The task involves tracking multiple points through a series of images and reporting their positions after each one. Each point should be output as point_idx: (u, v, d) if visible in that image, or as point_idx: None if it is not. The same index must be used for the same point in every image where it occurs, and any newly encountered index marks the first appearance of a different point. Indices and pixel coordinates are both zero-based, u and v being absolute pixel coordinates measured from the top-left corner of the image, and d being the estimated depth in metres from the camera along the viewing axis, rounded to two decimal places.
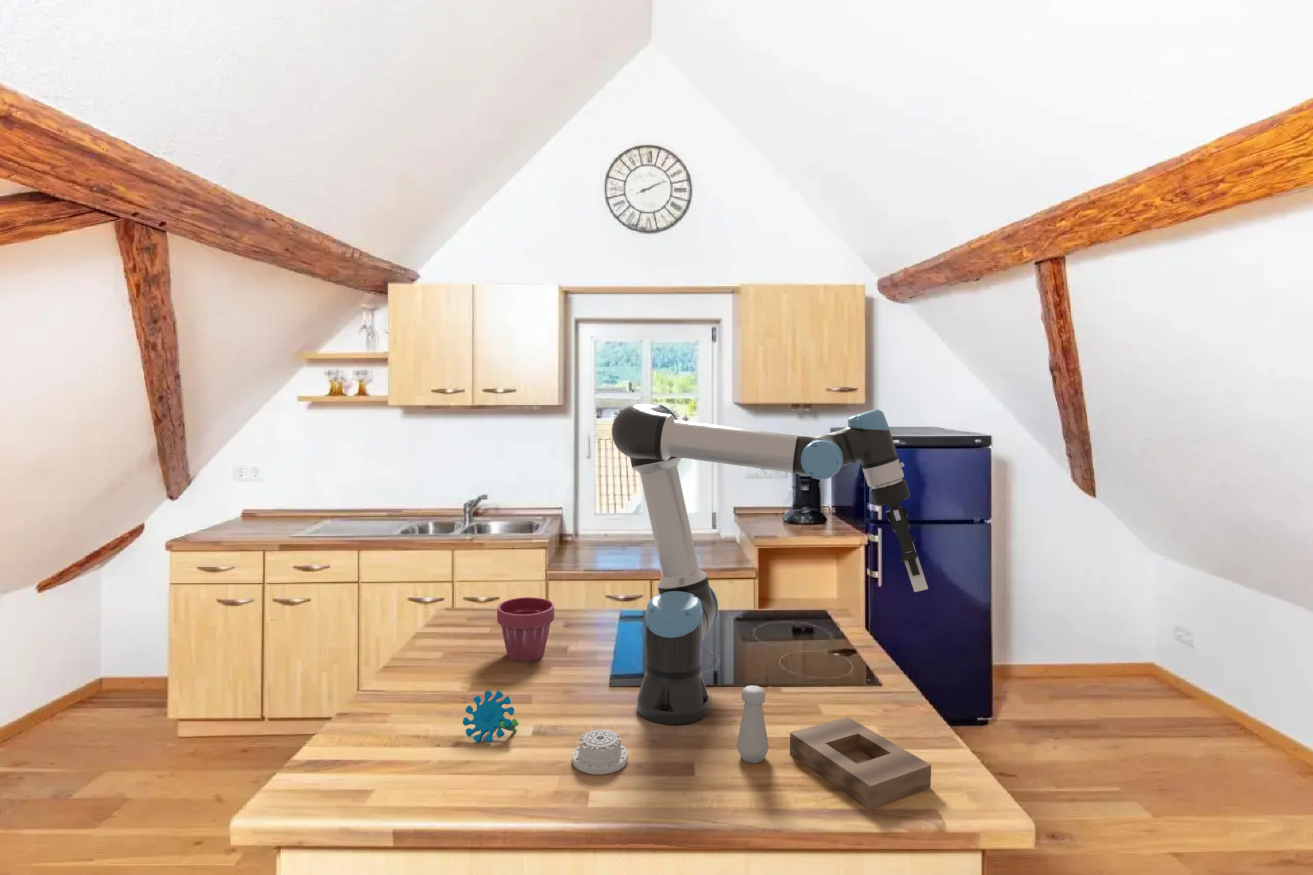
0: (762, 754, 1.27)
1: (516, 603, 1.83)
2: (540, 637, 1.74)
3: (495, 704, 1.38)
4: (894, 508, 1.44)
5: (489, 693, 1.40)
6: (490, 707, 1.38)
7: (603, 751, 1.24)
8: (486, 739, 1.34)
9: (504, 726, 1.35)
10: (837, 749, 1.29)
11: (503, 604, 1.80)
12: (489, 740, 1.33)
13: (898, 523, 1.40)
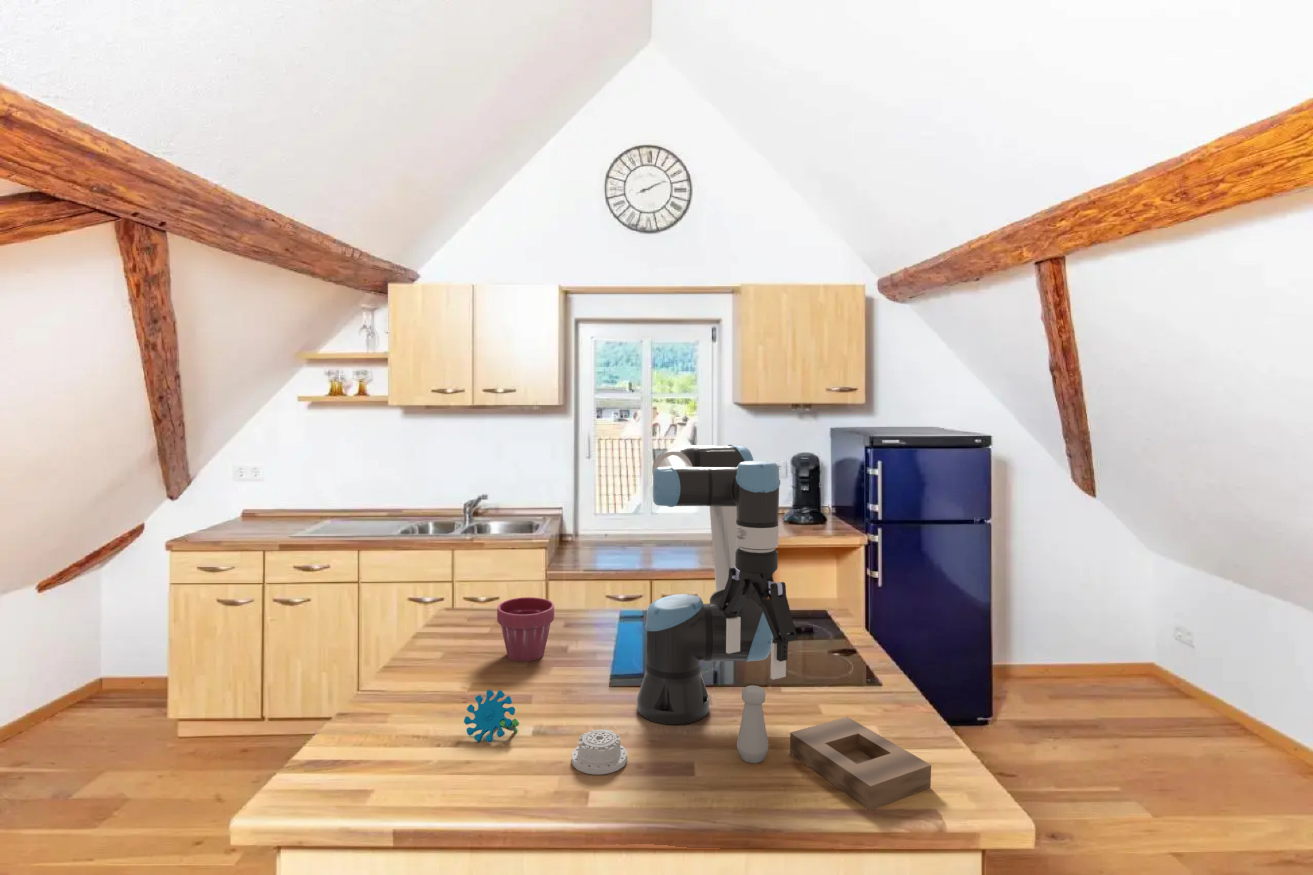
0: (762, 754, 1.27)
1: (516, 603, 1.83)
2: (540, 637, 1.74)
3: (496, 703, 1.38)
4: None
5: (491, 692, 1.40)
6: (491, 707, 1.38)
7: (602, 751, 1.24)
8: (486, 738, 1.34)
9: (505, 726, 1.35)
10: (837, 749, 1.29)
11: (503, 604, 1.80)
12: (489, 739, 1.34)
13: None
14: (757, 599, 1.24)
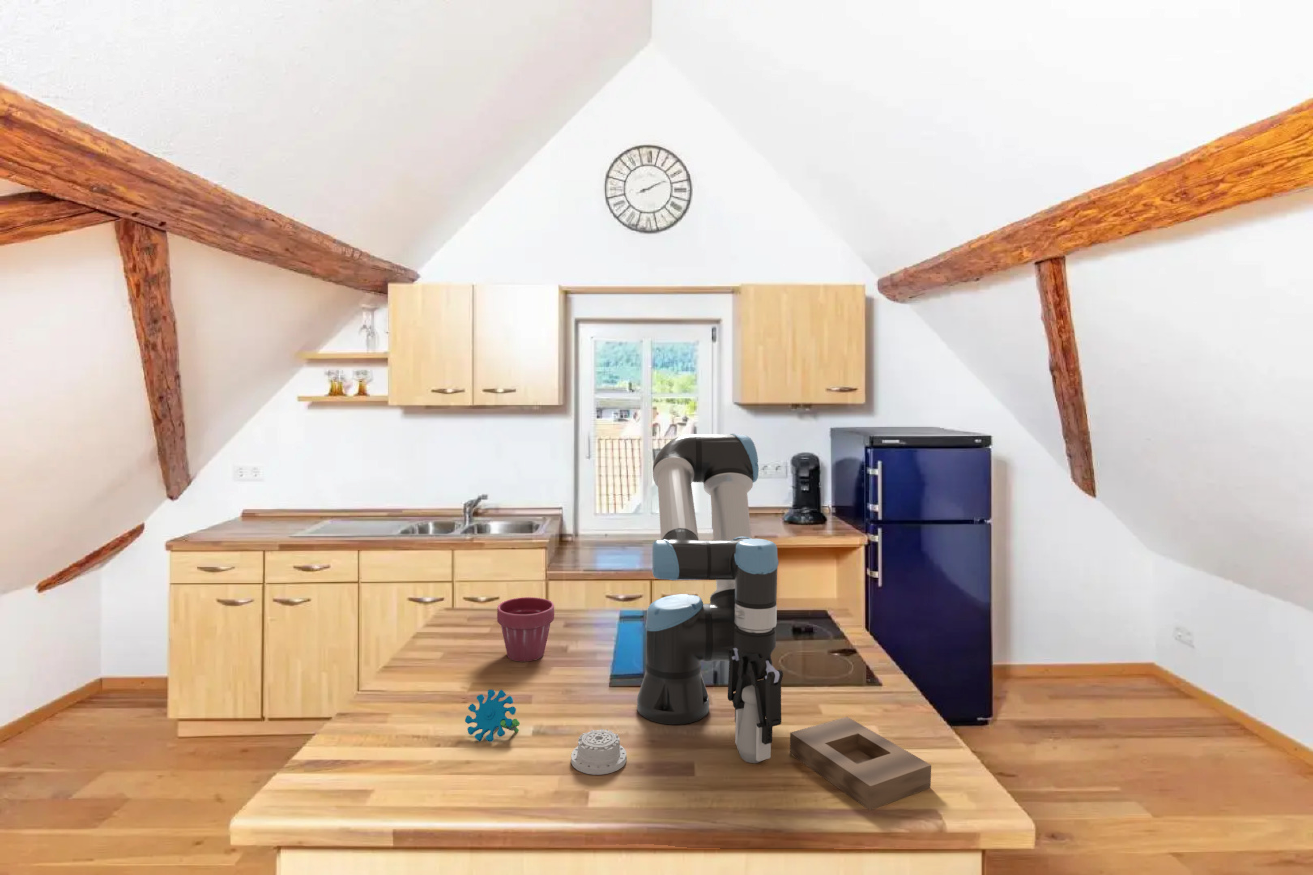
0: None
1: (516, 603, 1.83)
2: (540, 637, 1.74)
3: (497, 703, 1.38)
4: None
5: (492, 692, 1.40)
6: (492, 706, 1.38)
7: (602, 751, 1.24)
8: (487, 738, 1.34)
9: (505, 725, 1.36)
10: (837, 749, 1.29)
11: (503, 604, 1.80)
12: (490, 739, 1.34)
13: None
14: (752, 679, 1.26)
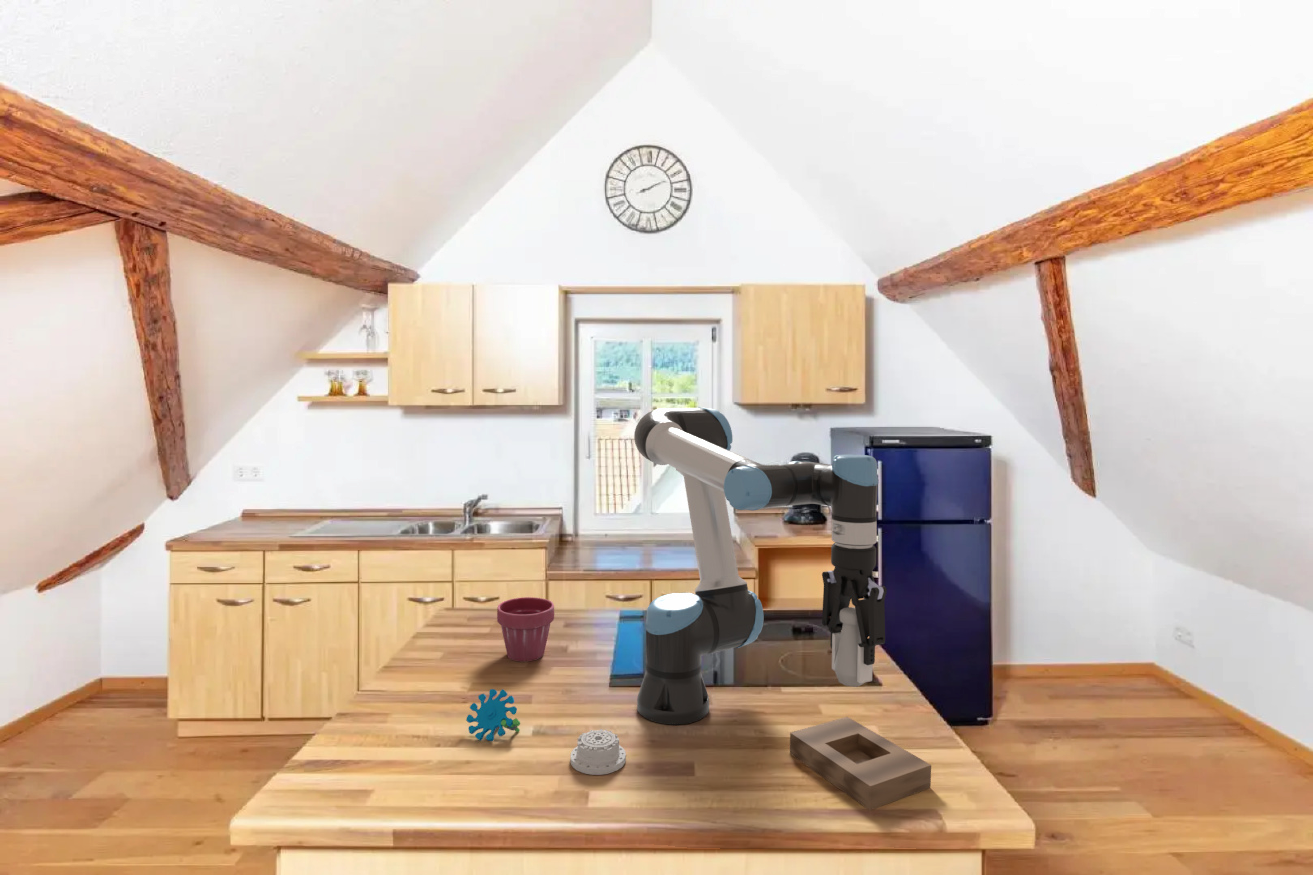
0: None
1: (516, 603, 1.83)
2: (540, 637, 1.74)
3: (498, 703, 1.38)
4: None
5: (494, 691, 1.40)
6: (494, 706, 1.38)
7: (601, 751, 1.24)
8: (487, 737, 1.34)
9: (506, 725, 1.36)
10: (837, 749, 1.29)
11: (503, 604, 1.80)
12: (490, 738, 1.34)
13: None
14: (852, 598, 1.21)
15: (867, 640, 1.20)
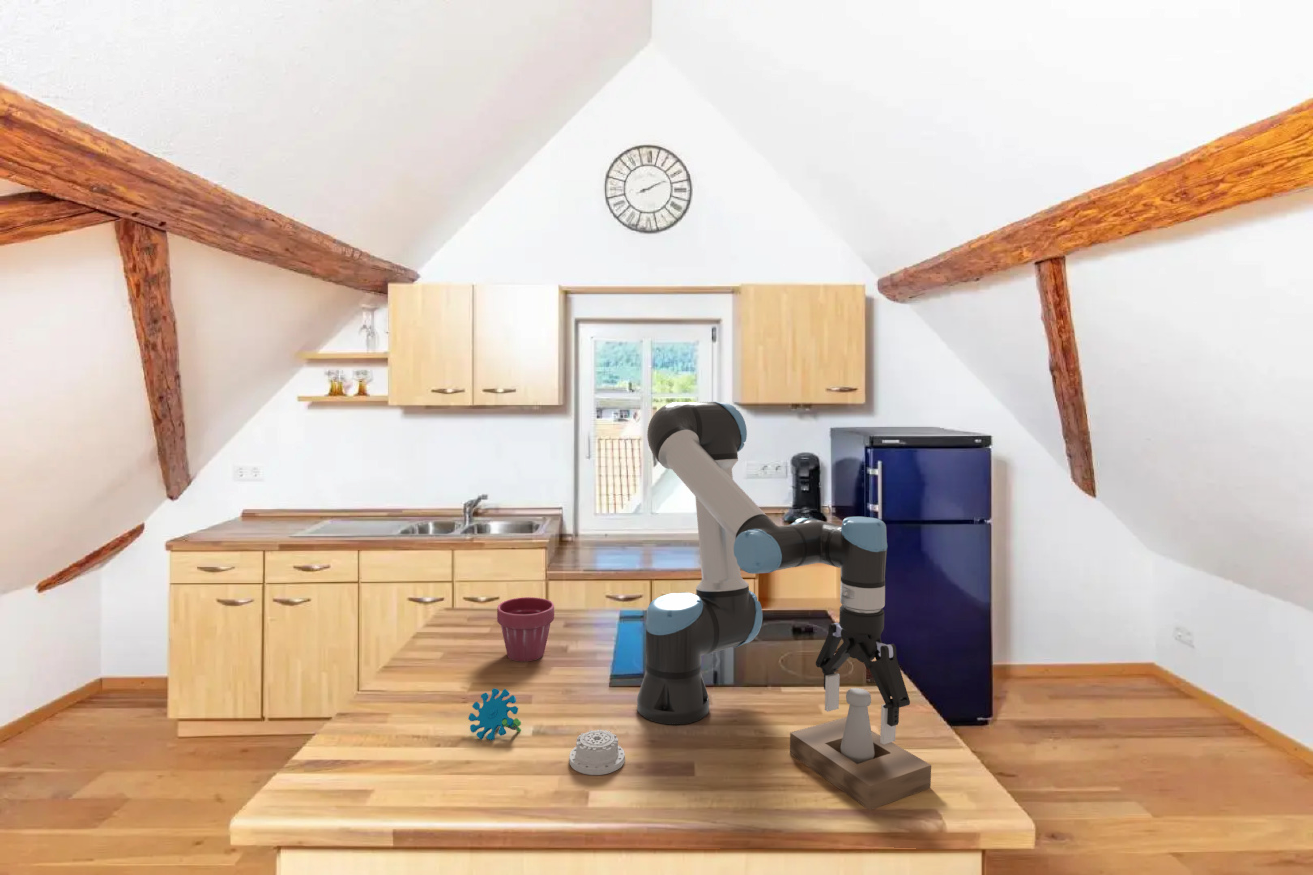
0: (869, 759, 1.23)
1: (516, 603, 1.83)
2: (540, 637, 1.74)
3: (500, 702, 1.39)
4: None
5: (496, 691, 1.41)
6: (495, 705, 1.39)
7: (600, 752, 1.24)
8: (488, 736, 1.35)
9: (507, 725, 1.36)
10: (837, 749, 1.29)
11: (503, 604, 1.80)
12: (491, 738, 1.34)
13: None
14: (865, 660, 1.21)
15: (891, 701, 1.17)
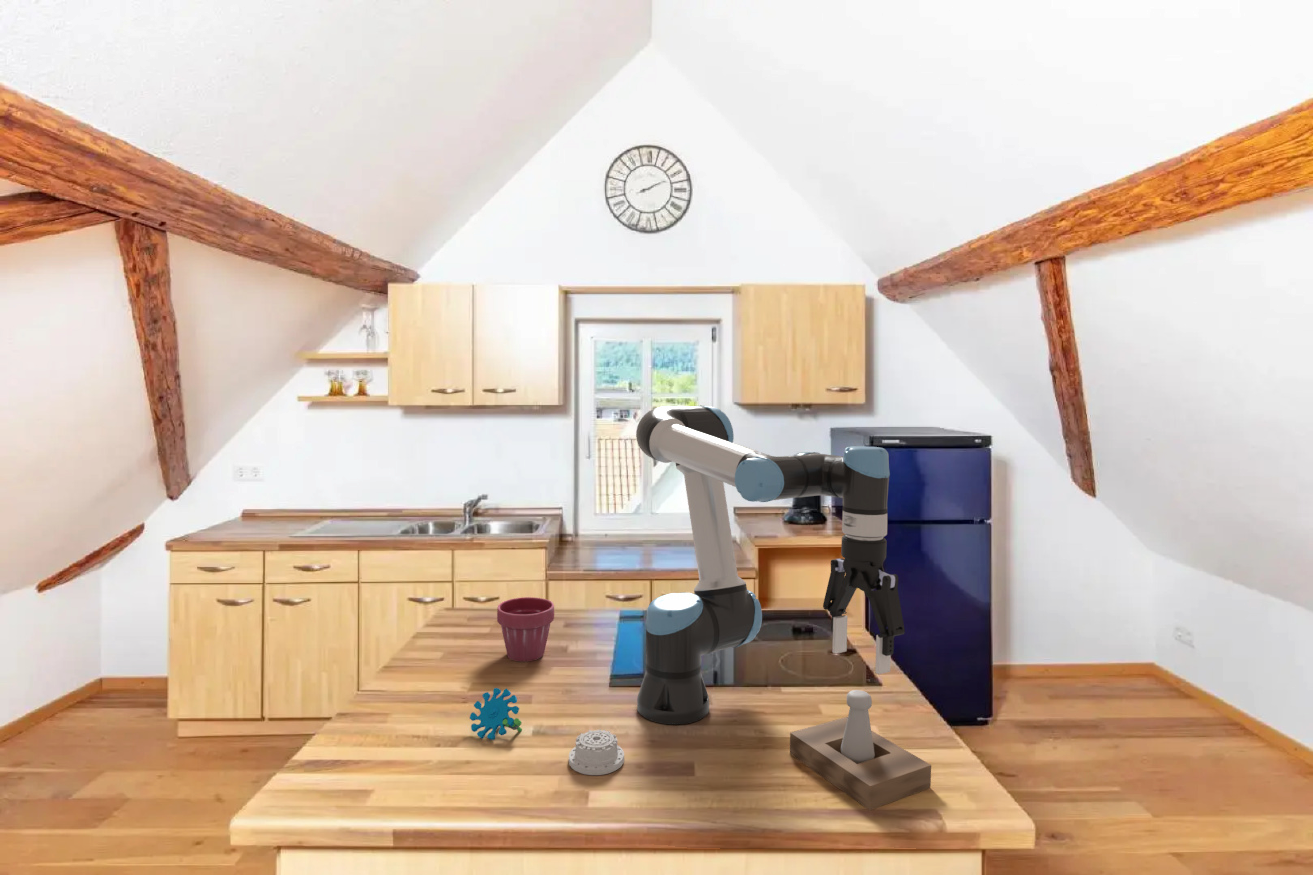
0: None
1: (516, 603, 1.83)
2: (540, 637, 1.74)
3: (501, 702, 1.39)
4: None
5: (497, 690, 1.41)
6: (497, 704, 1.39)
7: (600, 752, 1.24)
8: (488, 736, 1.35)
9: (507, 724, 1.36)
10: (837, 749, 1.29)
11: (503, 604, 1.80)
12: (491, 737, 1.34)
13: None
14: (865, 589, 1.21)
15: (886, 630, 1.18)
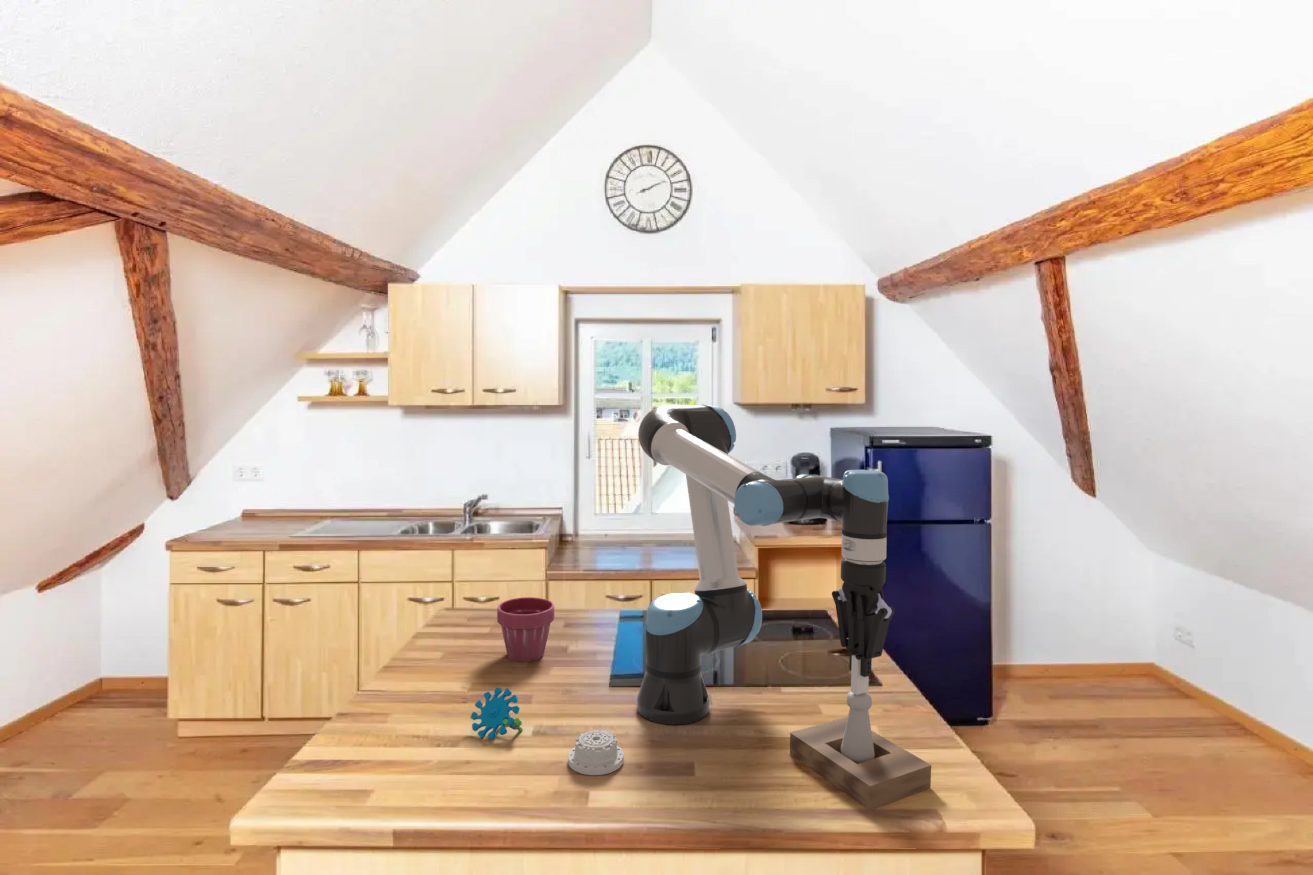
0: None
1: (516, 603, 1.83)
2: (540, 637, 1.74)
3: (502, 701, 1.39)
4: None
5: (498, 690, 1.41)
6: (497, 704, 1.39)
7: (599, 752, 1.24)
8: (489, 735, 1.35)
9: (508, 724, 1.36)
10: (837, 749, 1.29)
11: (503, 604, 1.80)
12: (491, 737, 1.35)
13: None
14: (859, 613, 1.22)
15: (864, 653, 1.22)
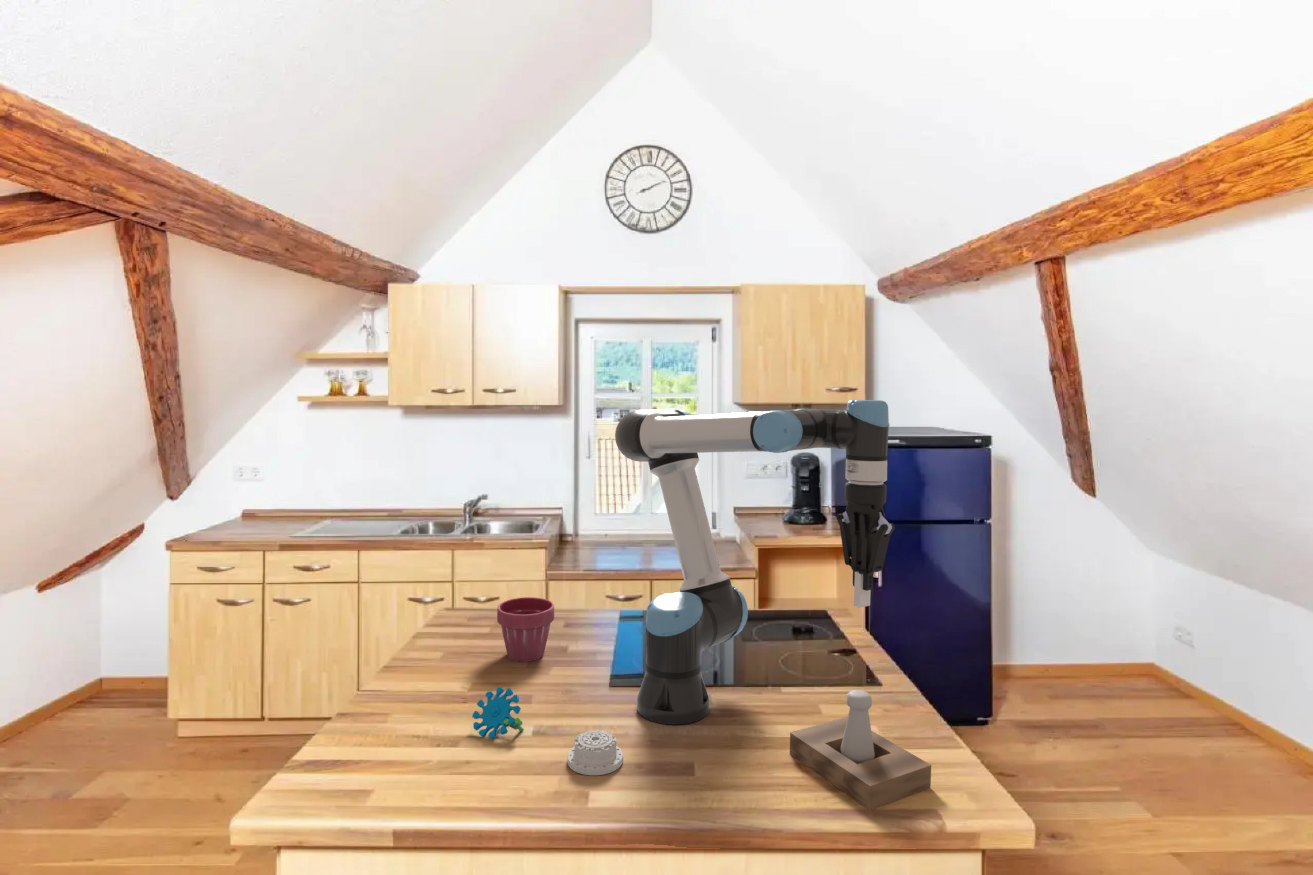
0: None
1: (516, 603, 1.83)
2: (540, 637, 1.74)
3: (504, 701, 1.39)
4: None
5: (500, 689, 1.41)
6: (499, 704, 1.39)
7: (598, 752, 1.24)
8: (489, 735, 1.35)
9: (508, 724, 1.36)
10: (837, 749, 1.29)
11: (503, 604, 1.80)
12: (492, 736, 1.35)
13: None
14: (862, 530, 1.32)
15: (866, 568, 1.32)
